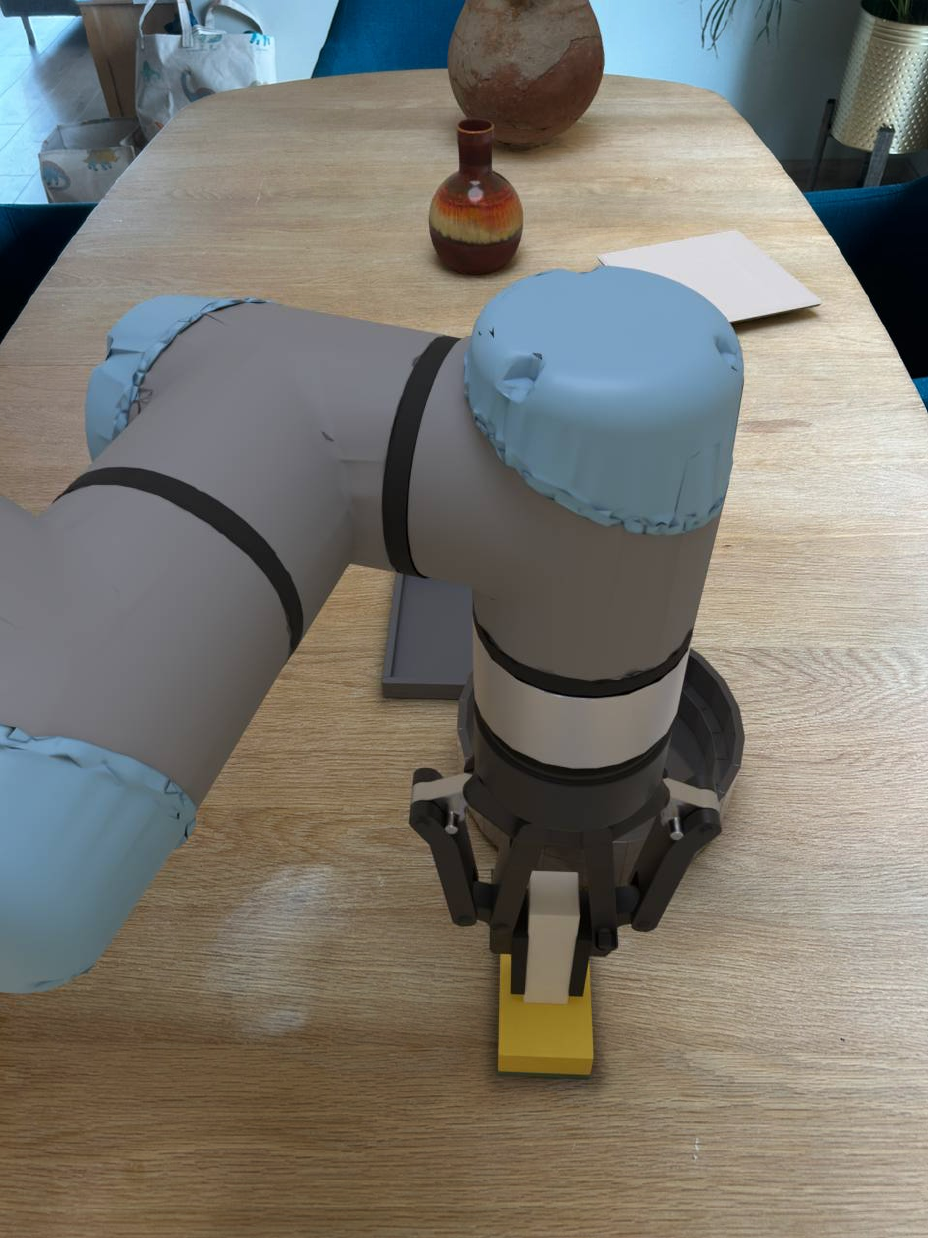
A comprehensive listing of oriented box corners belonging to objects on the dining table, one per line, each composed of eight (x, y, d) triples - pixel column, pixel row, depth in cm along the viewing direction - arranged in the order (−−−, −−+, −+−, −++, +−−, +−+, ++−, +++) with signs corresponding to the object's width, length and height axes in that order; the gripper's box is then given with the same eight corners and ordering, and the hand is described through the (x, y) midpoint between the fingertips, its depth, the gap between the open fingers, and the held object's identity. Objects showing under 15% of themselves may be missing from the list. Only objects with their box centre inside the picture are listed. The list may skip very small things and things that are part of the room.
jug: (587, 110, 153) (604, -132, 131) (609, 167, 138) (632, -95, 117) (446, 115, 153) (440, -127, 131) (453, 173, 138) (446, -89, 116)
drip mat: (522, 701, 73) (522, 686, 72) (383, 697, 73) (381, 682, 72) (522, 575, 82) (523, 560, 81) (399, 573, 82) (397, 558, 81)
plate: (666, 349, 106) (669, 331, 104) (594, 270, 118) (595, 253, 116) (820, 317, 110) (825, 300, 108) (734, 244, 122) (738, 227, 120)
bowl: (404, 767, 69) (399, 712, 65) (584, 634, 77) (590, 579, 73) (601, 951, 60) (610, 902, 55) (782, 777, 68) (802, 723, 64)
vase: (524, 239, 124) (528, 106, 112) (519, 283, 116) (523, 145, 105) (435, 236, 124) (431, 104, 113) (424, 280, 117) (418, 143, 106)
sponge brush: (589, 1079, 54) (611, 976, 45) (497, 1075, 55) (500, 971, 45) (583, 941, 60) (602, 823, 51) (500, 938, 60) (503, 820, 51)
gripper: (768, 625, 39) (682, 912, 56) (378, 617, 40) (409, 902, 57) (804, 784, 34) (698, 1047, 51) (356, 771, 35) (398, 1035, 52)
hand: (546, 970), depth 54 cm, fingers closed on sponge brush, 2 cm apart
